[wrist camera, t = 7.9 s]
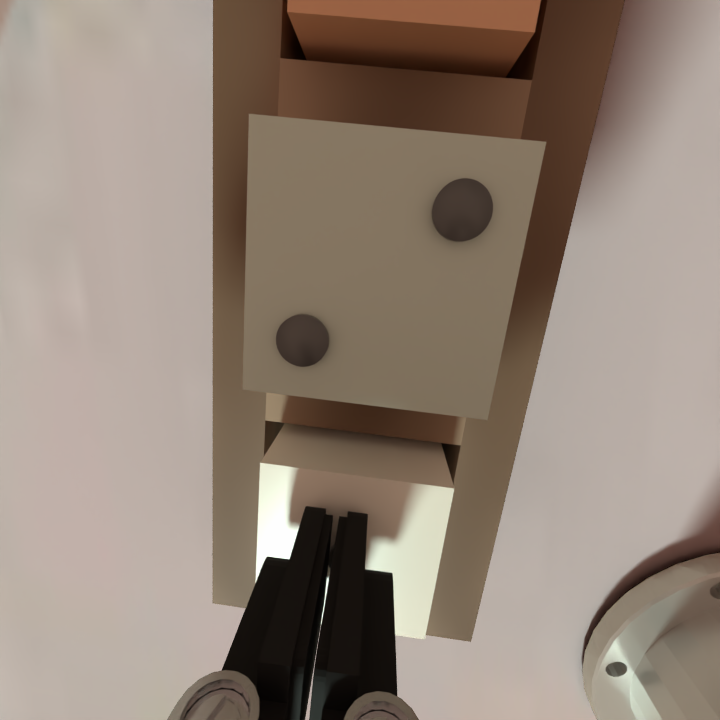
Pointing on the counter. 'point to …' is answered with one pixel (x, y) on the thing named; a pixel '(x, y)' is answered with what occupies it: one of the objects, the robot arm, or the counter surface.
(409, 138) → the button two
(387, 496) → the button one
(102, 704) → the counter surface
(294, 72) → the button board
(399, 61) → the button three
